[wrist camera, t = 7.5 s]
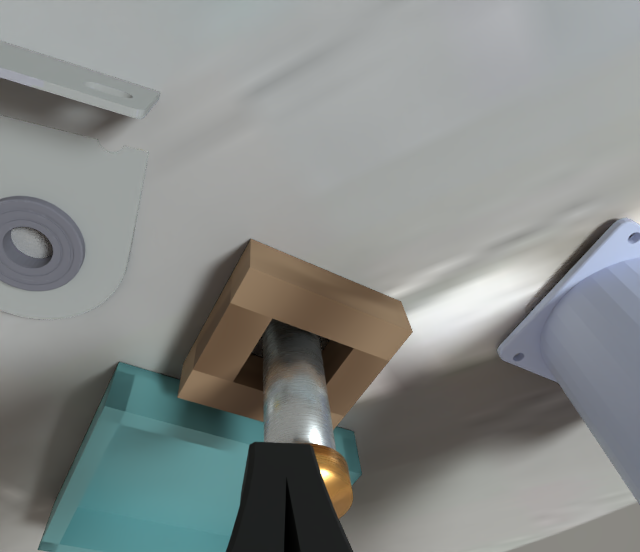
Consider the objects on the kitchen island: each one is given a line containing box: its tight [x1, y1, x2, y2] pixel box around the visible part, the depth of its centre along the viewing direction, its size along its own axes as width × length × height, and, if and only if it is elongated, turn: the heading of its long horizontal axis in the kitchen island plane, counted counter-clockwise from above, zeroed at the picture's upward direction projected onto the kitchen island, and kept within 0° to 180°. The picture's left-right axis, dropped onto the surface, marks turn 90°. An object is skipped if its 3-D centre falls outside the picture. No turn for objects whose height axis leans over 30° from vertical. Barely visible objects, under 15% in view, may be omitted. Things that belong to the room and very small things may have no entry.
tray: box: [38, 362, 362, 552], centre depth 25 cm, size 12×11×2 cm
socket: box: [177, 239, 413, 430], centre depth 21 cm, size 7×7×2 cm
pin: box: [263, 318, 353, 519], centre depth 19 cm, size 3×3×8 cm
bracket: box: [0, 41, 160, 320], centre depth 16 cm, size 7×10×3 cm, turn 160°
